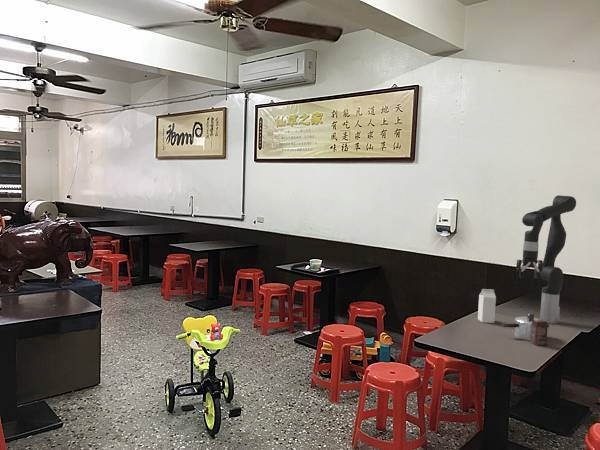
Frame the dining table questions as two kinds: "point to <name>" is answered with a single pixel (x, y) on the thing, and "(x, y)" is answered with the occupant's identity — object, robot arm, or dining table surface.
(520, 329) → the pot
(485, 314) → the milk carton
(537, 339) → the box
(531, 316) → the lid
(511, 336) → the dining table surface
